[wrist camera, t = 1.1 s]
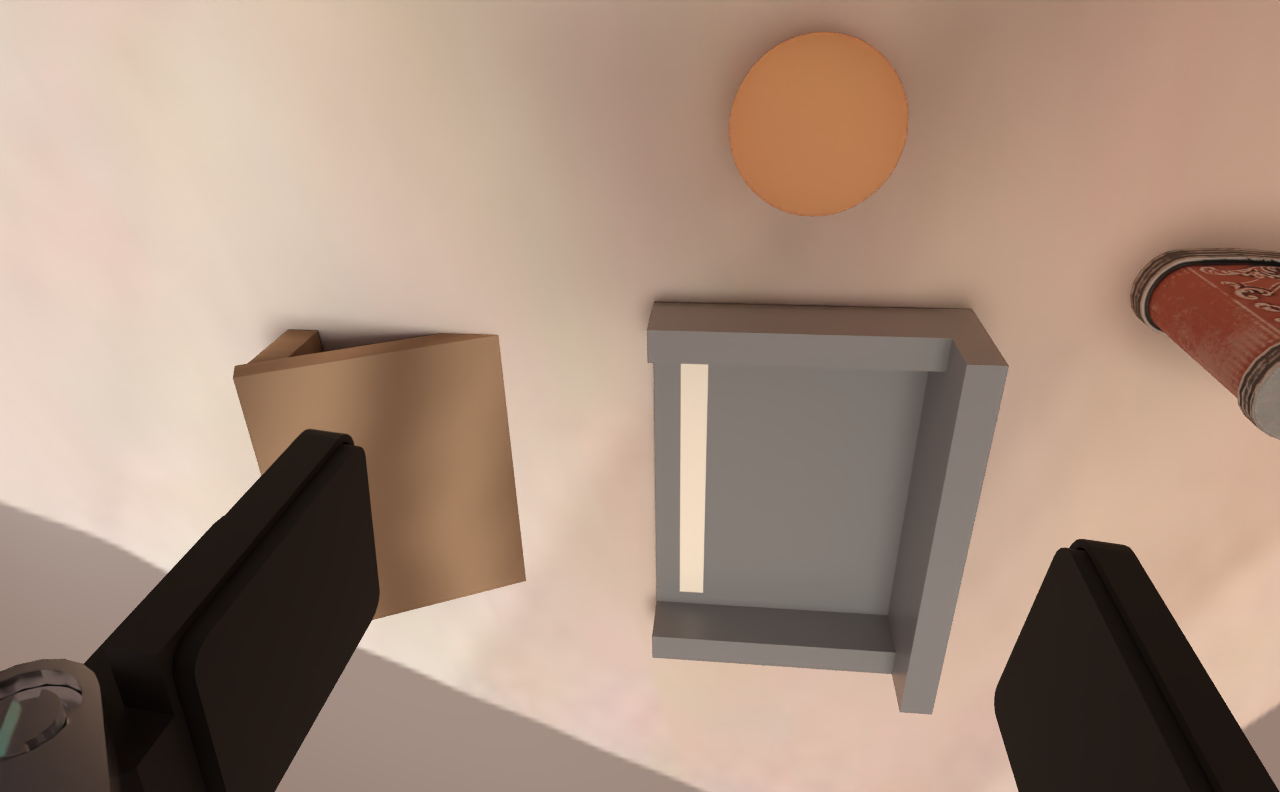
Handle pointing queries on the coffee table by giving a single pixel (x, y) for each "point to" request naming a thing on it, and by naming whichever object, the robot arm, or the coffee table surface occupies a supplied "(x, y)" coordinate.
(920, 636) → the box
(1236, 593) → the coffee table surface
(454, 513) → the ramp
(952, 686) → the coffee table surface
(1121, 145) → the coffee table surface
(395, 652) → the coffee table surface
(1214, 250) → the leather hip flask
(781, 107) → the ball
